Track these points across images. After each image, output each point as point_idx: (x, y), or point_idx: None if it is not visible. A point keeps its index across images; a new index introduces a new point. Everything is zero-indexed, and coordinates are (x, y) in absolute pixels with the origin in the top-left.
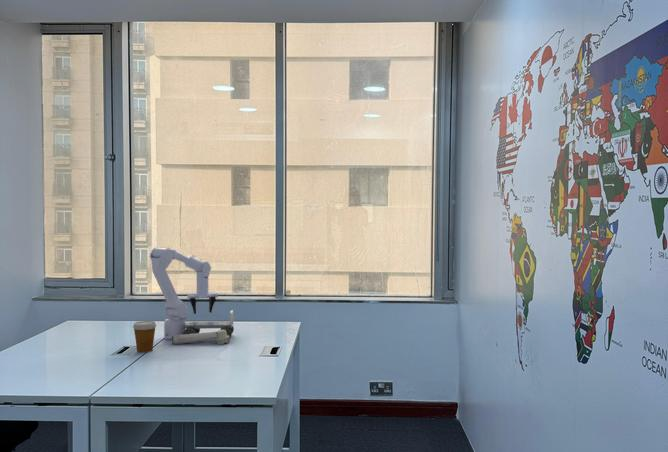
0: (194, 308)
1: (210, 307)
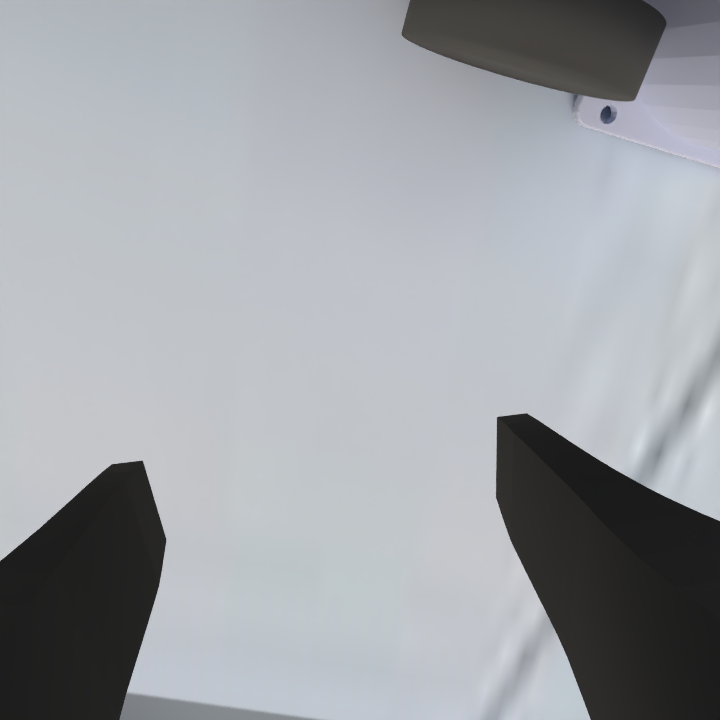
0: (600, 470)
1: (89, 550)
